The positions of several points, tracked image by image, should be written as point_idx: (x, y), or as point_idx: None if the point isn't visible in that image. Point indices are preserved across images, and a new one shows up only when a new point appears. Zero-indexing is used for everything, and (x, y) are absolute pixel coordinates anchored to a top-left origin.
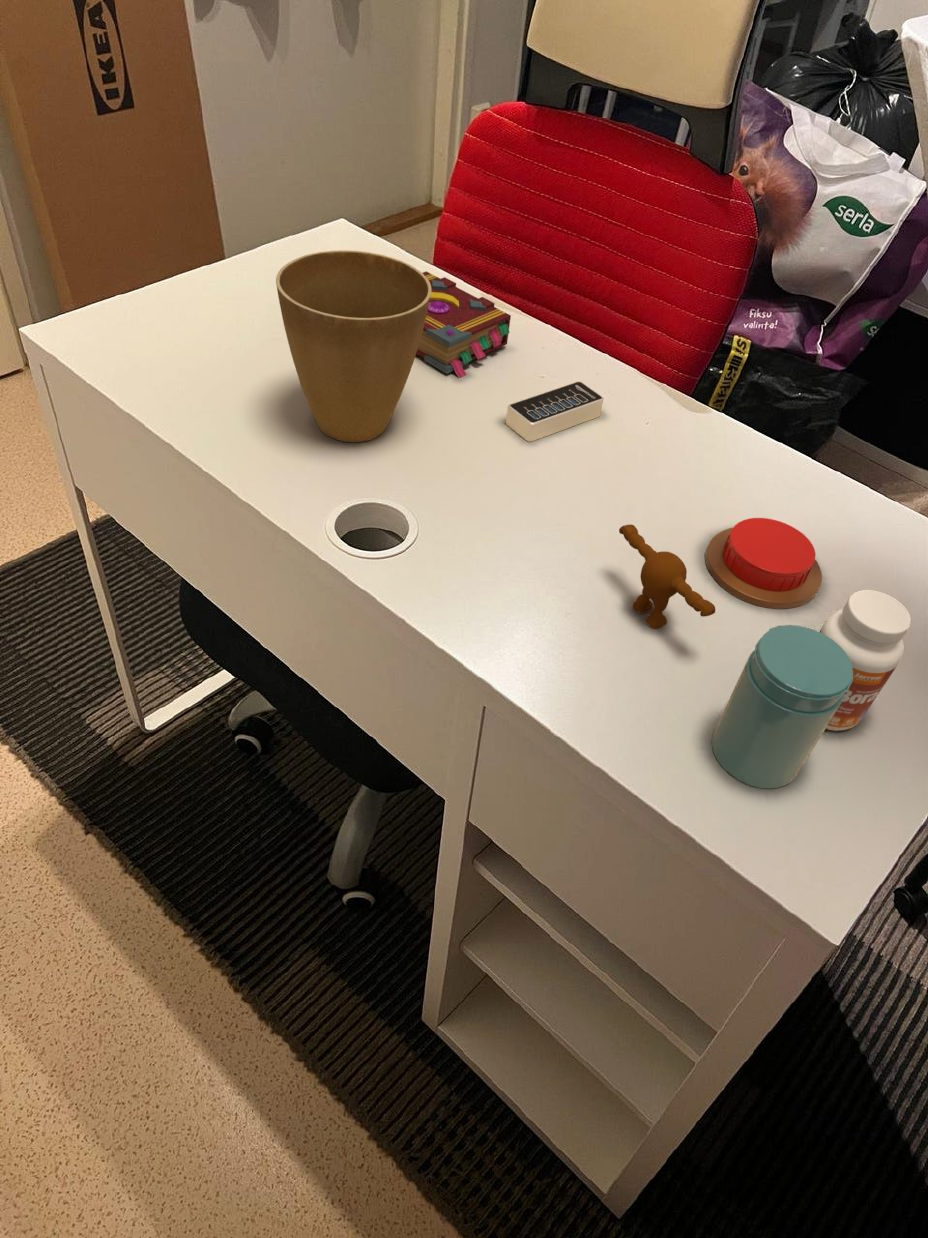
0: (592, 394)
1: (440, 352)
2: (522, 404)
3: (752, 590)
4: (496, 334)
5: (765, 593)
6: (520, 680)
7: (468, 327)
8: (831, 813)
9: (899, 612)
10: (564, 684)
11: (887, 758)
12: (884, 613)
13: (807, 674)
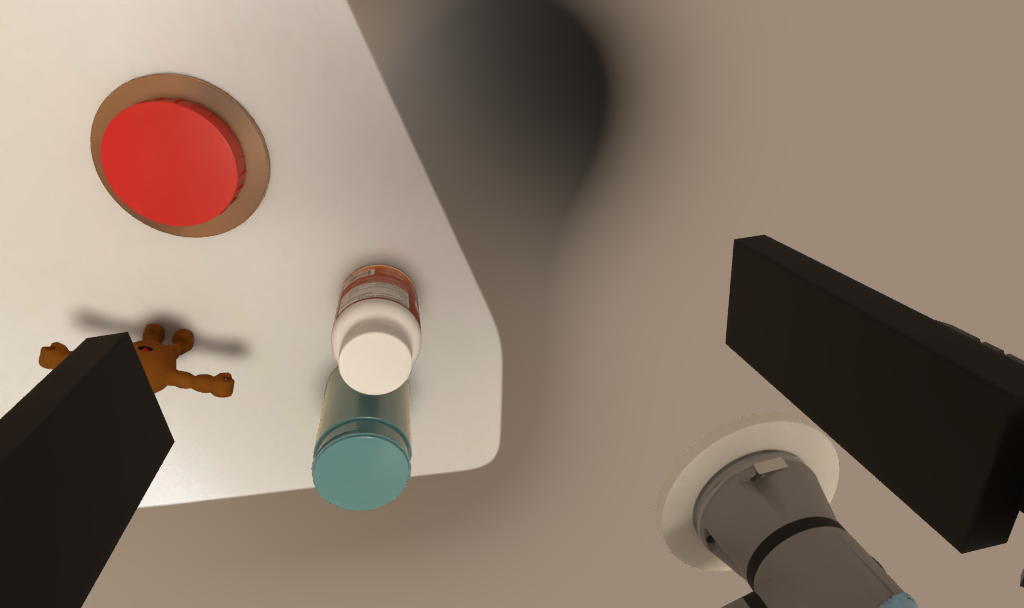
0: None
1: None
2: None
3: (213, 223)
4: None
5: (227, 214)
6: (170, 485)
7: None
8: (448, 391)
9: (392, 350)
10: (199, 460)
11: (456, 307)
12: (381, 363)
13: (375, 489)
